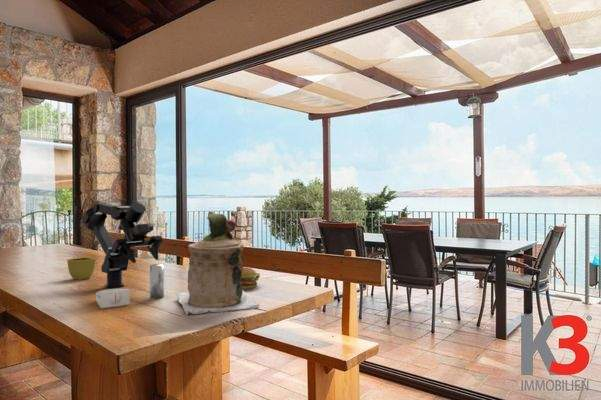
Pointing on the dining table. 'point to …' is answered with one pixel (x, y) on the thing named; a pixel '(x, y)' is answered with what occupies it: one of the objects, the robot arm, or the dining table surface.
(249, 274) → the food
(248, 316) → the dining table surface
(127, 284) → the dining table surface
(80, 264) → the flower pot
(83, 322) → the dining table surface
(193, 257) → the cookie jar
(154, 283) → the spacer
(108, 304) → the scale
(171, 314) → the dining table surface
